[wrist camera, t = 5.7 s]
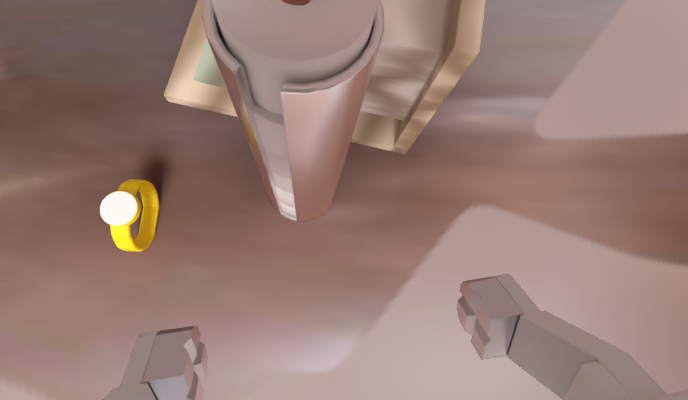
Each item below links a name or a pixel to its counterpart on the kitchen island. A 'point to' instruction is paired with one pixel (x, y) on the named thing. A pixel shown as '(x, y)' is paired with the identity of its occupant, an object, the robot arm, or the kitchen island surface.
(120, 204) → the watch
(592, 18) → the kitchen island surface
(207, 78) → the dock pad
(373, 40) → the white tall cylinder
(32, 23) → the kitchen island surface
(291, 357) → the kitchen island surface
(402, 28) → the mounted unit
